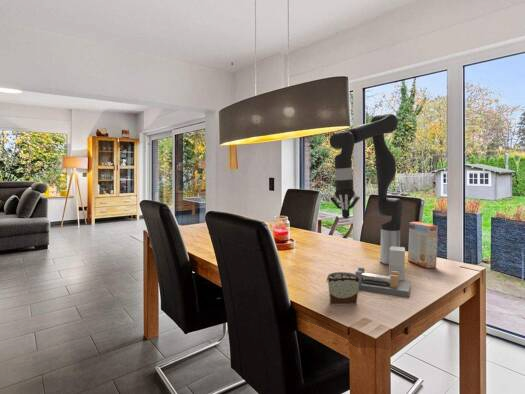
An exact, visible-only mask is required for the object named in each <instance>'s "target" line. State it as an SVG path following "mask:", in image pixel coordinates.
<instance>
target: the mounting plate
mask: <svg viewBox="0 0 525 394" xmlns="http://www.w3.org/2000/svg"><path fill="white" fill-rule="evenodd" d="M362 272H363V273H365V267H361V266H359V267H357V270H355V274H356V275H358V276H360V278H361V282H359V290H360V291H366V292H367V291H368V292H373V293H380V294H386V295H387V294H388V295H393V296H394V295H395V296H400V297H407V298H409V297H410V291H411V281H406V280H404V281H402V280H399V272H397V271H392V272H391V275H390V283H387V282H380V281H374V280H367V279H362ZM359 290H358V291H359Z"/></svg>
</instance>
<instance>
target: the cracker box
mask: <svg viewBox="0 0 525 394" xmlns="http://www.w3.org/2000/svg"><path fill="white" fill-rule="evenodd" d="M408 223H409V227H408V249H407V250H408V251H407V261H408V262H409V261H411V262H413V263H412V264H414V263H415V264H414V265H417V264H418V265H417V266H419V265H420V267H421V268H424V267H425V269H435V268H434V267H436V268H437V255H438V235H439V231H438V229H439V225H435V224H431V223H426V222H421V221H411V222H410V221H409V222H408ZM411 262H410V263H411Z"/></svg>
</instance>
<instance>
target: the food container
mask: <svg viewBox="0 0 525 394" xmlns="http://www.w3.org/2000/svg"><path fill="white" fill-rule="evenodd" d="M359 282H361V278H360V276H358V275H356V273H351V272H344V271H343V272H342V271H340V272H339V271H337V272H331V273H329V274H328V275H327V277H326V283H328V285H327V286H328V294H329V302H330V303H329V304H330V306H335V305H339V306H341V305H342V306H343V305H357V304H358V297H359Z"/></svg>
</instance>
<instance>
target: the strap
mask: <svg viewBox="0 0 525 394" xmlns="http://www.w3.org/2000/svg"><path fill="white" fill-rule="evenodd" d="M362 279H367V280H374V281H380V282H387V283H390V276H389V275H384V274H377V273H369V272H364V273H363V272H362Z"/></svg>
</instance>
